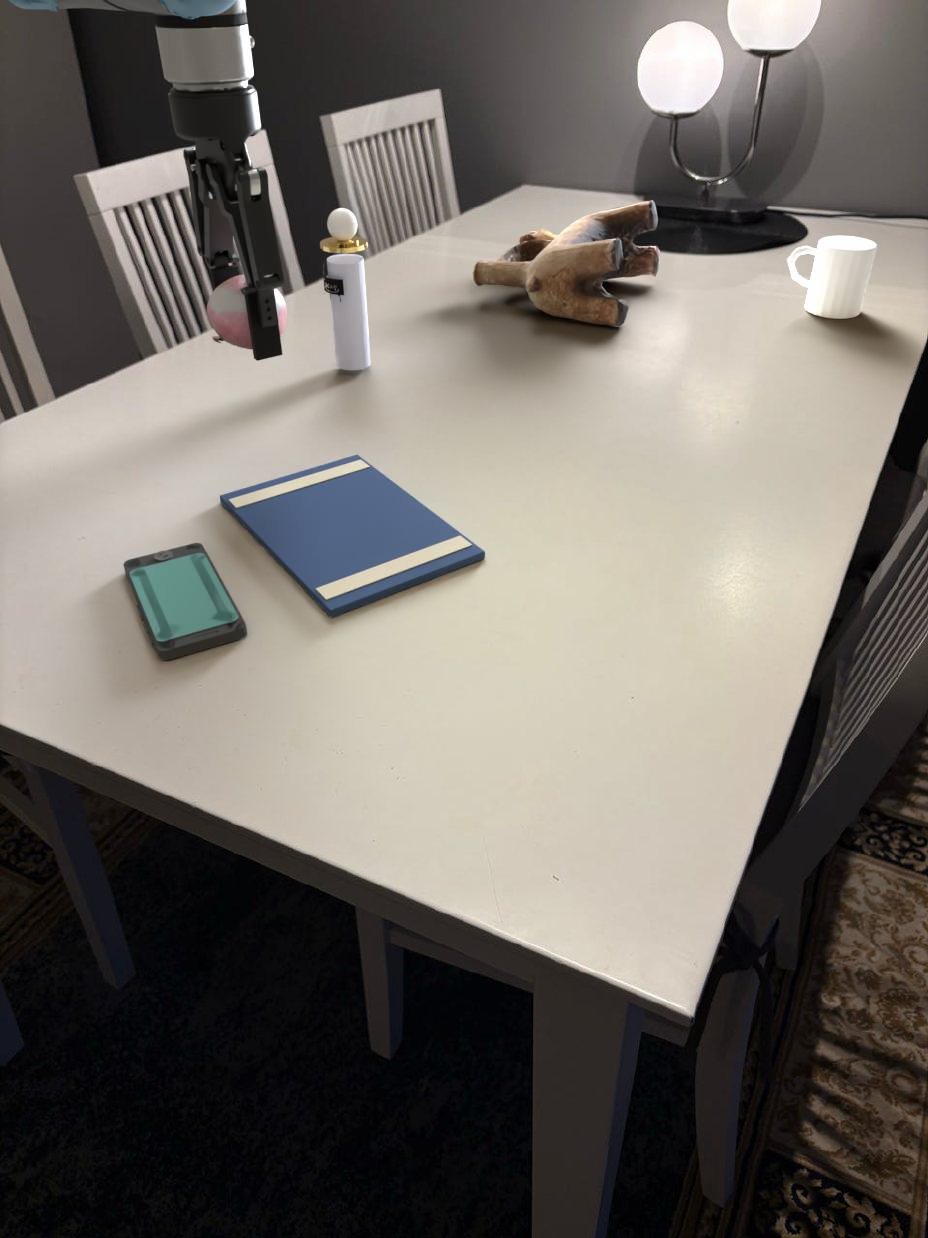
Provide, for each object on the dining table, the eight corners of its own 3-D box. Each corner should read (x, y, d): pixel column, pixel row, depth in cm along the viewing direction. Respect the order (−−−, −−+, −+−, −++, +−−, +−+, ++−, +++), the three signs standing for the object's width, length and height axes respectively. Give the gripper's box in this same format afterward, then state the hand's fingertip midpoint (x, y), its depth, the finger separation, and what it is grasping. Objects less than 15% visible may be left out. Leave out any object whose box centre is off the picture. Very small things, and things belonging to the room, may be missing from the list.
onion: (263, 365, 88) (252, 289, 84) (195, 354, 90) (181, 281, 86) (303, 337, 94) (295, 265, 90) (239, 328, 96) (228, 258, 92)
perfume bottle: (358, 357, 124) (347, 200, 112) (384, 369, 121) (374, 208, 109) (323, 368, 121) (307, 207, 109) (348, 381, 118) (334, 216, 106)
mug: (778, 297, 144) (791, 232, 138) (858, 304, 141) (875, 237, 135) (777, 314, 138) (791, 246, 132) (861, 321, 135) (879, 252, 129)
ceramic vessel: (665, 181, 144) (516, 190, 154) (619, 249, 123) (449, 255, 132) (666, 263, 152) (524, 267, 162) (623, 340, 131) (463, 340, 140)
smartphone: (200, 539, 85) (247, 624, 74) (202, 550, 85) (249, 636, 75) (119, 559, 82) (155, 651, 71) (122, 571, 83) (158, 663, 72)
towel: (220, 502, 93) (218, 494, 92) (357, 460, 100) (357, 453, 99) (331, 618, 77) (330, 609, 76) (485, 558, 84) (485, 550, 83)
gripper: (304, 93, 73) (331, 367, 87) (207, 69, 87) (244, 309, 101) (216, 102, 70) (258, 385, 84) (129, 75, 83) (178, 322, 97)
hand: (250, 343), depth 92 cm, fingers closed on onion, 8 cm apart
